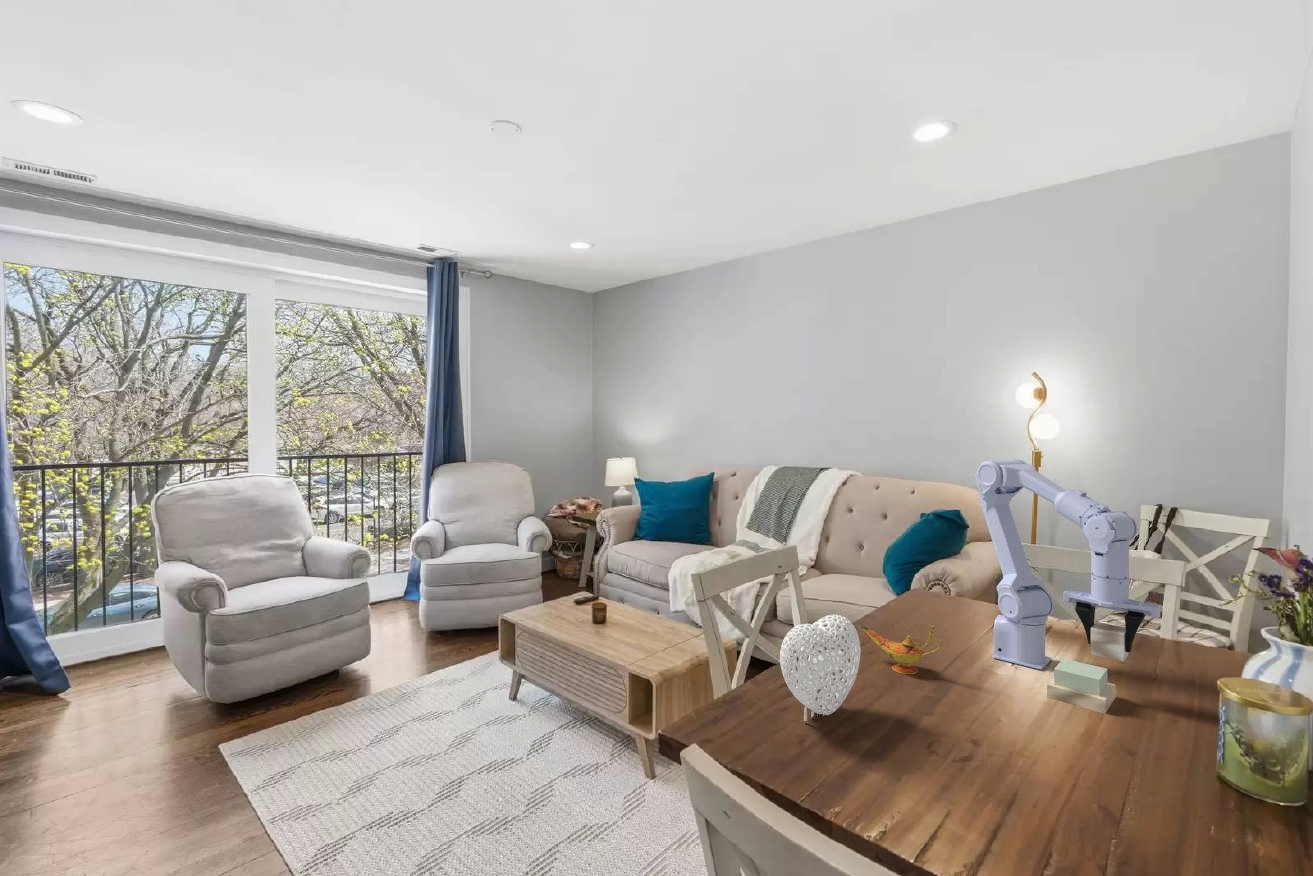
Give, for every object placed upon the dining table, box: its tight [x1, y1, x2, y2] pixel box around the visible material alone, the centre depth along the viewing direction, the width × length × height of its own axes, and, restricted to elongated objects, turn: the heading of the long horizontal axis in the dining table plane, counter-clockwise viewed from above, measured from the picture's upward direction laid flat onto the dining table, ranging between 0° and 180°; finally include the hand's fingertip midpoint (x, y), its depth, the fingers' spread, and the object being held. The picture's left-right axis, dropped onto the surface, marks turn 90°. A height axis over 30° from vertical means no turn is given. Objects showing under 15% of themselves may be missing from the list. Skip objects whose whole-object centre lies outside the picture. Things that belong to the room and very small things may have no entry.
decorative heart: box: [779, 614, 862, 722], centre depth 108 cm, size 18×11×17 cm, turn 128°
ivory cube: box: [1090, 621, 1129, 663], centre depth 113 cm, size 5×5×5 cm
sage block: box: [1053, 658, 1108, 696], centre depth 113 cm, size 7×7×3 cm
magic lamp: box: [858, 625, 941, 675], centre depth 128 cm, size 7×18×11 cm, turn 41°
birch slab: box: [1046, 677, 1117, 714], centre depth 113 cm, size 9×9×3 cm
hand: (1109, 646), depth 113 cm, fingers closed on ivory cube, 5 cm apart
